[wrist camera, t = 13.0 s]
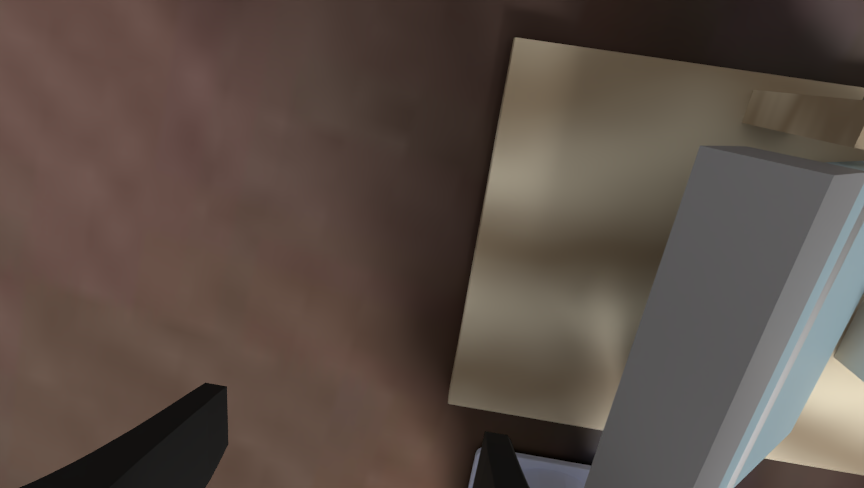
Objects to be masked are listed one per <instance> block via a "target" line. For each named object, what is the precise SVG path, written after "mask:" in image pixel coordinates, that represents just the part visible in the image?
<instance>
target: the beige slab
mask: <svg viewBox="0 0 864 488" xmlns="http://www.w3.org/2000/svg"><path fill="white" fill-rule="evenodd" d="M700 146H747V147H752V148H757V149H762V150H766V151H771V152H776V153H781V154H785V155H790V156H795V157H800V158H805V159H809V160H814V161H819V162H847V161H864V88H862V87H855V86H848V85H842V84H835V83H828V82H821V81H814V80H807V79H800V78H793V77H786V76H779V75H772V74H766V73H759V72H752V71H745V70H738V69H731V68H724V67H717V66H710V65H703V64H696V63H689V62H683V61H676V60H669V59H662V58H655V57H648V56H641V55H634V54H627V53H620V52H613V51H607V50H600V49H593V48H586V47H579V46H572V45H565V44H558V43H551V42H544V41H537V40H531V39H524V38H517V37H515V38H513V43H512V49H511V54H510V60H509V65H508V71H507V76H506V82H505V87H504V93H503V98H502V104H501V109H500V114H499V120H498V125H497V131H496V136H495V142H494V147H493V153H492V158H491V164H490V169H489V175H488V180H487V186H486V191H485V196H484V202H483V207H482V213H481V218H480V224H479V229H478V235H477V240H476V246H475V251H474V257H473V262H472V268H471V273H470V279H469V284H468V289H467V295H466V300H465V306H464V311H463V317H462V322H461V328H460V333H459V339H458V344H457V350H456V355H455V361H454V366H453V371H452V377H451V382H450V388H449V396H448V404H452V405H458V406H463V407H469V408H475V409H481V410H487V411H492V412H498V413H504V414H510V415H516V416H522V417H527V418H533V419H539V420H545V421H551V422H556V423H562V424H568V425H574V426H580V427H585V428H591V429H597V430H604V427H605V424H606V421H607V418H608V415H609V412H610V409H611V406H612V403H613V400H614V397H615V394H616V392H617V389H618V386H619V383H620V380H621V377H622V374H623V371H624V368H625V365H626V362H627V359H628V356H629V353H630V350H631V347H632V344H633V341H634V338H635V336H636V333H637V330H638V327H639V324H640V321H641V318H642V315H643V312H644V309H645V306H646V303H647V300H648V297H649V294H650V291H651V288H652V285H653V282H654V280H655V277H656V274H657V271H658V268H659V265H660V262H661V259H662V256H663V253H664V250H665V247H666V244H667V241H668V238H669V235H670V232H671V229H672V227H673V224H674V221H675V218H676V215H677V212H678V209H679V206H680V203H681V200H682V197H683V194H684V191H685V188H686V185H687V182H688V179H689V176H690V173H691V171H692V168H693V165H694V162H695V159H696V156H697V153H698V150H699V147H700ZM863 299H864V293H863V295H862V297H861V299H860V301H859V303H858V305H857V307H856V308H855V310H854V312H853V314H852V316H851V318H850V320H849V322H848V324H847V326H846V328H845V330H844V331H843V333H842V335H841V337H840V339H839V341H838V343H837V345H836V347H835V349H834V351H833V353H832V354H831V356H830V358H829V360H828V362H827V364H826V366H825V368H824V370H823V372H822V374H821V375H820V377H819V379H818V381H817V383H816V385H815V387H814V389H813V391H812V393H811V395H810V397H809V398H808V400H807V402H806V404H805V406H804V408H803V410H802V412H801V414H800V416H799V418H798V420H797V421H796V423H795V425H794V427H793V429H792V431H791V433H790V434H789V435H788V436H787V437H785V438H784V439H783V440H782V441H781V442H780V443H779V444H778V445H777V446H776V447H775V448H774V449H773V450H772V451H771V452H770V453H769V454H768V455H767V456H766V457H765V458H766V459H771V460H777V461H783V462H789V463H795V464H801V465H806V466H812V467H818V468H824V469H830V470H835V471H841V472H847V473H853V474H859V475H864V382H863V381H862V380H861V379H859V378H858V377H857V376H856V375H855V374H853V373H852V372H851V371H850V370H849V369H847V368H846V367H845V366H844V365H843V364H841V363H840V362H839V361H838V360H836V359H835V358H834V355H835V353H836V351H837V349H838V347H839V346H840V344H841V342H842V340H843V338H844V336H845V334H846V332H847V330H848V328H849V326H850V324H851V322H852V320H853V318H854V316H855V314H856V312H857V310H858V308H859V306H860V304H861V302H862V301H863Z"/></svg>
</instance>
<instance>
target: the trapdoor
mask: <svg viewBox="0 0 864 488" xmlns="http://www.w3.org/2000/svg"><path fill="white" fill-rule="evenodd" d="M863 293H864V161H847V162H819V161H814V160H809V159H805V158H800V157H795V156H790V155H785V154H781V153H776V152H771V151H766V150H762V149H757V148H752V147H747V146H700V147H699V150H698V153H697V156H696V159H695V162H694V165H693V168H692V171H691V173H690V176H689V179H688V182H687V185H686V188H685V191H684V194H683V197H682V200H681V203H680V206H679V209H678V212H677V215H676V218H675V221H674V224H673V227H672V229H671V232H670V235H669V238H668V241H667V244H666V247H665V250H664V253H663V256H662V259H661V262H660V265H659V268H658V271H657V274H656V277H655V280H654V282H653V285H652V288H651V291H650V294H649V297H648V300H647V303H646V306H645V309H644V312H643V315H642V318H641V321H640V324H639V327H638V330H637V333H636V336H635V338H634V341H633V344H632V347H631V350H630V353H629V356H628V359H627V362H626V365H625V368H624V371H623V374H622V377H621V380H620V383H619V386H618V389H617V392H616V394H615V397H614V400H613V403H612V406H611V409H610V412H609V415H608V418H607V421H606V424H605V427H604V430H603V433H602V436H601V439H600V442H599V445H598V448H597V450H596V453H595V456H594V459H593V462H592V465H591V468H590V471H589V474H588V477H587V480H586V483H585V486H584V488H734V487H735V486H736V485H737V484H738V483H739V482H740V481H741V480H742V479H743V478H744V477H745V476H746V475H748V474H749V473H750V472H751V471H752V470H753V469H754V468H755V467H756V466H757V465H758V464H759V463H760V462H761V461H762V460H763V459H764V458H765V457H766V456H767V455H768V454H769V453H770V452H771V451H772V450H773V449H774V448H775V447H776V446H777V445H778V444H779V443H780V442H781V441H782V440H783V439H784V438H785V437H787V436H788V435H789V434H790V433H791V431H792V429H793V427H794V425H795V423H796V421H797V420H798V418H799V416H800V414H801V412H802V410H803V408H804V406H805V404H806V402H807V400H808V398H809V397H810V395H811V393H812V391H813V389H814V387H815V385H816V383H817V381H818V379H819V377H820V375H821V374H822V372H823V370H824V368H825V366H826V364H827V362H828V360H829V358H830V356H831V354H832V353H833V351H834V349H835V347H836V345H837V343H838V341H839V339H840V337H841V335H842V333H843V331H844V330H845V328H846V326H847V324H848V322H849V320H850V318H851V316H852V314H853V312H854V310H855V308H856V307H857V305H858V303H859V301H860V299H861V297H862V295H863Z"/></svg>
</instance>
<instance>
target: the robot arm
mask: <svg viewBox="0 0 864 488" xmlns="http://www.w3.org/2000/svg"><path fill="white" fill-rule="evenodd" d="M227 445H228V416H227V387H226V386H221V385H215V384H209V383H204V384H203V385H201V386H200V387H198V388H196V389H195V390H193V391H192V392H190V393H189V394H187V395H185V396H184V397H182V398H181V399H179V400H178V401H176V402H175V403H173V404H172V405H170V406H169V407H167V408H165V409H164V410H162V411H161V412H159V413H158V414H156V415H154V416H153V417H151V418H150V419H148V420H146V421H145V422H143V423H142V424H140V425H138V426H137V427H135V428H134V429H132V430H130V431H129V432H127V433H125V434H123V435H122V436H120V437H118V438H116V439H115V440H113V441H111V442H109V443H108V444H106V445H104V446H103V447H101V448H99V449H97V450H96V451H94V452H92V453H90V454H88V455H86V456H85V457H83V458H81V459H79V460H77V461H75V462H73V463H71V464H69V465H67V466H65V467H63V468H61V469H59V470H57V471H55V472H53V473H51V474H49V475H47V476H45V477H43V478H40V479H38V480H36V481H34V482H32V483H29V484H27V485H25V486H22V487H20V488H205V487H206V485H207V484H208V482H209V481H210V479H211V477H212V475H213V473H214V471H215V469H216V468H217V466H218V464H219V462H220V460H221V458H222V456H223V454H224V451H225V449H226V447H227ZM590 468H591V466H590V465H585V464H579V463H573V462H568V461H562V460H556V459H550V458H545V457H539V456H533V455H528V454H522V453H516V452H515V451H514V448H513V445H512V442H511V439H510V438H509V437H508V435H503V434H497V433H492V432H486V431H485V434H484V438H483V443H482V447H481V448H479V449H478V450H477V451H476V453H475V458H474V463H473V467H472V472H471V476H470V481H469V485H468V488H584V486H585V483H586V480H587V477H588V474H589V471H590Z"/></svg>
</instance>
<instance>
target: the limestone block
mask: <svg viewBox="0 0 864 488" xmlns="http://www.w3.org/2000/svg"><path fill="white" fill-rule="evenodd" d="M834 358H835V359H836V360H838V361H839V362H840V363H841V364H843V365H844V366H845V367H846V368H847V369H849V370H850V371H851V372H852V373H853V374H855V375H856V376H857V377H858V378H859V379H861V380H862V381H863V382H864V299H863V301H862V302H861V304H860V306H859V308H858V310H857V312H856V314H855V316H854V318H853V320H852V322H851V324H850V326H849V328H848V330H847V332H846V334H845V336H844V338H843V340H842V342H841V344H840V346H839V347H838V349H837V351H836V353H835V355H834Z"/></svg>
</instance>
